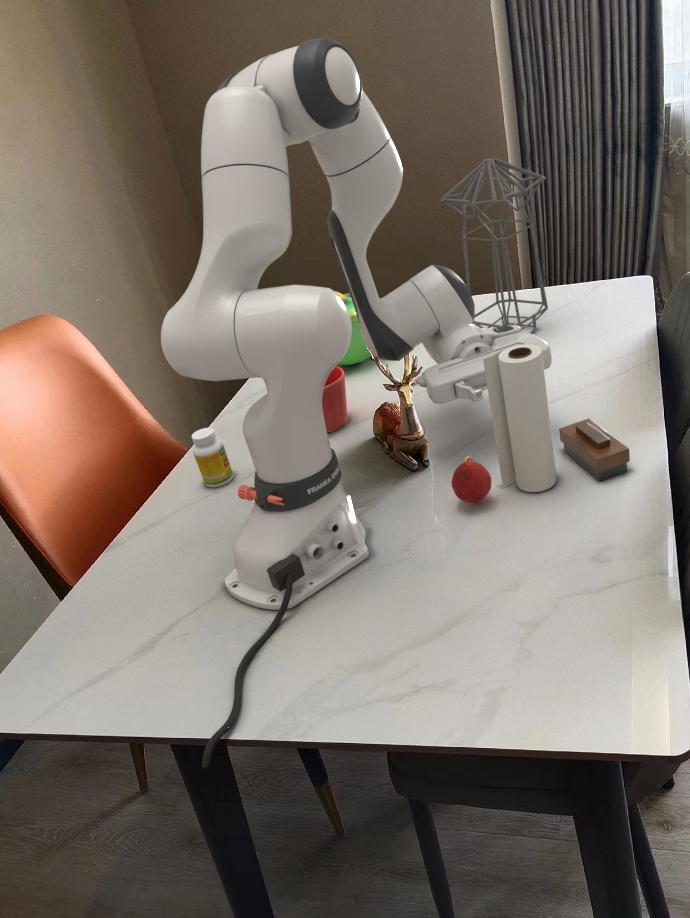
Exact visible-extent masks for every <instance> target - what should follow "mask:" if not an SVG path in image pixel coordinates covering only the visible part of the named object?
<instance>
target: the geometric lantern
mask: <svg viewBox="0 0 690 918" xmlns="http://www.w3.org/2000/svg"><path fill="white" fill-rule="evenodd" d="M486 166H487V177H485V178H484V174H485V168H486ZM508 169H510V170H512V171H515V172H518V173H521V174H524V175H527V176H529V177H524V178H520V176H518V175H516V174H514V173H513V172H512V171H510V170H508ZM493 171H494V173H495V175H496V177H494V175H493ZM503 177H504V178H503ZM469 179H470V180H469ZM515 179H516V180H517V181H516V180H515ZM467 180H469V181H468V183H467V184H466V185H465V187H464V188H463V190H462V191H461V192H458V193H454V192H455V191H457V189H459V188H460V187H461V186H462V185H463V184H464V183H465V182H466V181H467ZM487 180H489V185H490V190H491V197H492V198H491V199H485V200H481V201H477V200H478V197H479V194H480V192H481V188H482V185H483V182H484V181H487ZM533 180H534V181H533ZM544 180H546V177H545V176H544V175H541V174H539V173H537V172H534V171H531V170H528V169H525V168H524V167H520V166H518V165H515V164H513V163H510V162H507V161H505V160H502V159H499V158H496V157H492V158H491V157H488V158H484V160H483V161H482V162H481V163H480V164H479V165H477V166H476V167H475V168H474V169H473V170H472V171H471V172H469V173H468V174H467V175H466V176H465V177H463V178H462V179H461V180H460V181H459V182H458V183H457V184H455V186H453V187H451V189H450V190H448V191H447V192H446V193H445V194H444V195H443V196H442V197H441V199H440V201H441V202H440V203H444V204H445V205H447V206H448V207H449V208H451V209H452V210H453V211H455V212H456V213H457V214H459V215H460V216H462V228H461V235H460V238H461V241H462V242H461V244H462V253H463V260H464V261H463V262H464V269H465V275H466V276H465V278H466V287H467V288H468V290H469V292H470V294H471V295H472V291H471V290H472V289H471V283H470V272H469V258H468V255H469V254H468V241H467V240H469V241H482V242H491V243H490V244H491V253H492V265H493V278H494V288H495V302H493V303H492V304H490V305H488V306H487V307H485V308H484V309H482V310H481V311H479V312H477V313H475V318H477V317H478V316H480V315H482V314H483V313H485V312H487V311H488V310H490V309H492V308H493V307H495V306H496V305H497V307H498V309H499V312H500V315H501V317H499V318H498V319H496V320H495V321H494V322H493V323H489V322H488V323H487V322H483V321H476V320H474V321H473V322H472V323H473V325H474V326H475V327H476V326H477V328H485V327H486V328H497V327H504V326H511V325H518V326H519V327H520V328H521V331H524V329H526V328H534V329H533V330H531V331H530V332H529V333H530V334H533V333H534V332H535V331H537V330H538V327H537V326H538V325H537V320H538V319H540V317H542V315H544V314H545V313H546V312H547V311H548V309H549V306H548V300H547V294H546V289H545V284H544V280H543V274H542V269H541V264H540V258H539V253H538V247H537V240H536V239H537V238H536V234H535V233H536V232H535V226H534V225H535V224H534V220H533V217H532V212H531V208H530V205H529V201H531V198H532V197H533V195H534V194H535V193H536V191H537V190H538V189H539V187H540V185H541V184H542V182H543V181H544ZM527 181H532V183H531V184H529V186H527V187H526V182H527ZM502 184H503V185H502ZM508 184H510V186H512V188H510V186H509V185H508ZM495 186H497V187H498V188H500V190H501V193H502V197H501V199H498V198H497V192H496V187H495ZM515 187H517V188H518V189H519V191H516V192H515ZM531 189H532V190H531ZM530 190H531V191H530ZM529 191H530V193H529V194H528V192H529ZM453 193H454V194H453ZM470 193H471V200H468V199H467V198H468V196H469V195H470ZM505 193H506V194H505ZM457 197H461V199H460V198H459V199H458V198H457ZM524 197H525V200H524V202H523V200H522V198H524ZM456 198H457V199H456ZM512 198H514V199H515V200H514V201H515V204H516V206H515V205H514V204H513V203H512V202H511V199H512ZM500 202H504V203H505V205H504V207H503V209H502V211H501V214H500V216H499V218H498V219H495V220H491V219H490V218H489V217H488V216H487V215H486V214H485V213H484V212H485V211H487V210H488V209H489V208H490V207H491V206H493V204H495V203H500ZM519 202H520V205H519ZM485 204H486V205H485ZM454 205H455V206H454ZM479 205H485V206H484V207H483V208H481V209H480V208H479V207H478V206H479ZM456 206H457V207H461V210H460V209H458V208H457V207H456ZM508 206H509V207H510V208H511V209H512V210H511V211H510V214H509V217H508V219H503V217H504V216H505V212H506V210H507V209H508ZM469 207H470V208H471V209H472V212H473V214H471V215H467V214H466V212H467V210H466V208H469ZM525 207H526V208H525ZM475 208H476V209H477V210H478V213H476V210H475ZM521 209H522V210H523V212H524V215H525V218H526V219H511V218H512V216H513V214H514V212H520V210H521ZM481 215H482V216H483V217H484V218H485V219H486V220H487V222H484V221H483V219H482V217H480V216H481ZM471 219H477V220H478V221H479V222H480V224H481V225H480V226H477V227H476V228H473V229H472V230H469V231H468V232H467V224H466V223H467V220H471ZM502 222H503V223H506V224H505V226H504V228H502ZM509 223H528V224H529V225H527V226H525V227H524V228H522V229H520V230H518V231H516V232H514V233H512V234H510V235H508V236H507V237H504V234H505V232H506V230H507V227H508V225H509ZM493 224H498V229H499V237H496V236H495V234H494V225H493ZM488 225H489V227H488ZM483 227H484V229H485V230H486V231H487V232H488V234H489V235H490V238H479V237H467V236H468V235H470V234H472V233H474V232H476V231H478V230H480V229H482V228H483ZM528 229H529V230H530V236H531V241H532V245H533V251H534V257H535V264H536V271H537V277H538V284H539V290H540V291H539V292H540V297H541V301H536V300H527V299H517V295H516V294H517V293H516V288H515V282H514V277H513V272H512V271H513V270H512V266H511V260H510V255H509V249H508V243H507V240H508V239H511V238H513V237H514V236H516V235H518V234H521V233H522V232H524V231H526V230H528ZM498 242H500V246H501V252H502V261H503V266H504V273H505V281H506V288H507V297H508V299H505V296H504V295H505V294H504V287H503V279H502V272H501V263H500V256H499V255H500V254H499V248H498ZM498 283H499V285H498ZM499 291H500V298H501V299H500V298H499ZM511 292H512V295H511ZM499 299H500V300H499ZM506 303H508V305H507V311H506ZM511 303H514V310H515V314H516V315H509V314H510V307H511ZM518 303H520V304H521V303H522V304H533V305H540V307H539V308H538V309H537V312H535V313H533V314H531V315H530V316H524V315H523V316H520V312H519V305H518ZM500 304H501V305H500ZM501 306H502V307H501ZM543 307H544V308H543ZM509 319H516V320H517V323H513V322H510V320H509ZM521 319H523V320H521ZM530 320H531V321H530ZM499 321H501V323H502V324H501V325H500V324H497V323H498V322H499ZM528 321H530V322H528ZM527 322H528V323H527ZM525 323H527V324H525ZM484 326H485V327H484Z"/></svg>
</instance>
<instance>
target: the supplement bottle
mask: <svg viewBox="0 0 690 918" xmlns="http://www.w3.org/2000/svg"><path fill="white" fill-rule="evenodd" d="M190 437H191V440H192V443H193V447H192V453H193V456H194V459H195V462H196V465H197V467H198V469H199V472H200V476H201V477H202V481H203V483H204V484H205V486H206V487H208V488H219V487H222V486H225V485H227V484H229V483H230V482H231V481H232V479H234V472H233V469H232V466H231V463H230V460H229V458H228V455H227V451H226V448H225V445H224V443H223V441H222V440H221V439H220V438H218V437H217V435H216V432H215V430H214V428H213V427H203V428H201V429H198V430H196V431H194V432H193V433H192V434H191V436H190Z"/></svg>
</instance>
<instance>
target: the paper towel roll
mask: <svg viewBox="0 0 690 918" xmlns="http://www.w3.org/2000/svg"><path fill="white" fill-rule="evenodd" d="M483 363H484V369H485V375H486V382H487V388H488V389H487V395H488V401H489V406H490V414H491V419H492V426H493V431H494V432H493V433H494V439H495V444H496V450H497V455H498V456H497V458H498V465H499V470H500V477H501V483H502V486H507V485H509V484H511V483H513V482H514V481H515V483H516V486H517V487H518V488H519V490H521V491H524V492H526V493H527V492H528V493H538V492H544V491H546V490H549V489H550V488H552V487H554V485H555V484H556V483H557V469H556V460H555V452H554V451H555V450H554V443H553V437H552V436H553V435H552V426H551V417H550V410H549V401H548V392H547V383H546V373H545V370H544V365H543V356H542V349H541V348H540V347H539V346H535V345H527V344H524V345H517V346H513V347H510V348H507V349H504V350H501V351H499V352H498V353H496V354H494V355H492V356H490V357H488V358H484V359H483Z"/></svg>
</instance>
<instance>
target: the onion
mask: <svg viewBox="0 0 690 918" xmlns="http://www.w3.org/2000/svg"><path fill="white" fill-rule="evenodd" d="M451 488H452V490H453V493H454V495H455V496H456V497H457V499H459V500H460V501H462V502H464V503H466V504H470V505H471V504H472V505H477V504H479V503H480V501H483V500H484V499H485V498H486V497H487V495H489V493H490V491H491V489H492V477H491V474H490V472H489V470H488V469H487V468H486V467H485V466H484V465H483V464H481V463H479V462H477V461H474V458H473V456H470V455H467V456H465V457H464V459H463V461H462V463H460V464H459V465H458V466H457V467H456V468H455V470H454V472H453V474H452V477H451Z"/></svg>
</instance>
